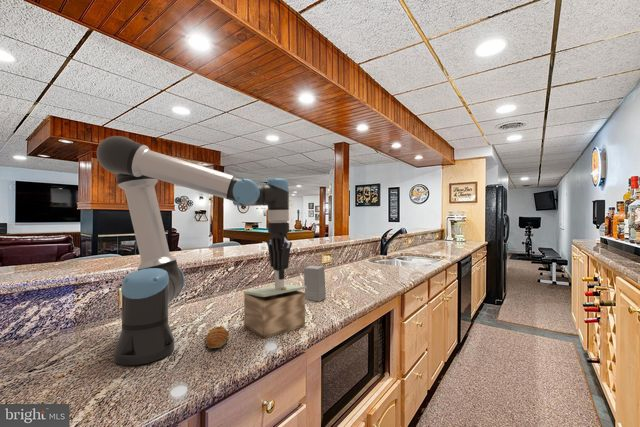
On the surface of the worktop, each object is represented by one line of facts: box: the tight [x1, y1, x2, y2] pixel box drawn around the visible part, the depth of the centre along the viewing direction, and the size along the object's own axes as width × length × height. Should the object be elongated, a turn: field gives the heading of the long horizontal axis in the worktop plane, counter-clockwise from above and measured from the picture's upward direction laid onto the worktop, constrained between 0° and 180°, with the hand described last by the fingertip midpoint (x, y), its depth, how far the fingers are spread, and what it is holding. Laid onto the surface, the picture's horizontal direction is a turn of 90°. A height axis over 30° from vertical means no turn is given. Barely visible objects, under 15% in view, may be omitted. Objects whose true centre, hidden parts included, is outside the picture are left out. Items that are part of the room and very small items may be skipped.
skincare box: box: [303, 265, 327, 302], centre depth 142 cm, size 8×7×16 cm
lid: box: [243, 283, 307, 297], centre depth 108 cm, size 18×14×2 cm
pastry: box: [205, 326, 229, 349], centre depth 92 cm, size 9×7×4 cm
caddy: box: [243, 290, 306, 340], centre depth 108 cm, size 17×14×12 cm
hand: (279, 287), depth 106 cm, fingers closed
